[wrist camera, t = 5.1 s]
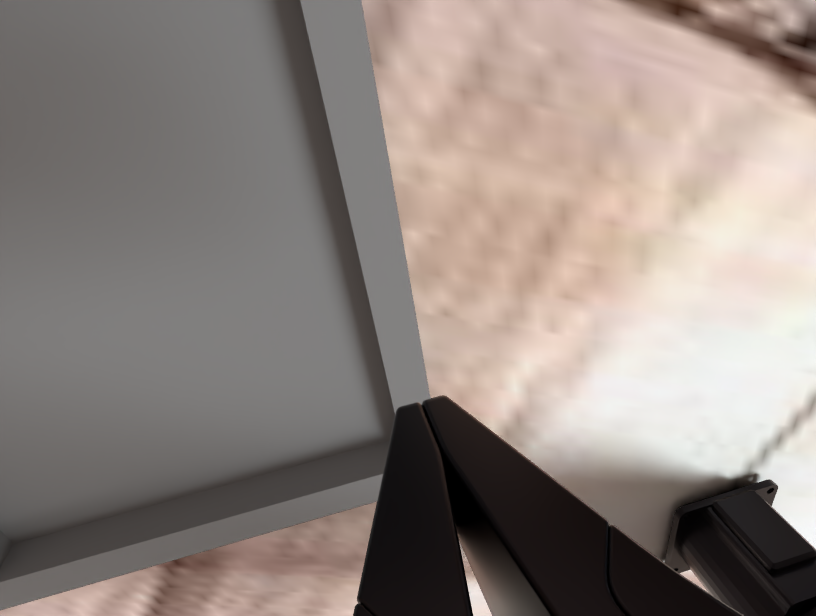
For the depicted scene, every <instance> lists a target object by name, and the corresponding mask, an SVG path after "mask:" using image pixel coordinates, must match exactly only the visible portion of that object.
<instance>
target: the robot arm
mask: <svg viewBox="0 0 816 616" xmlns="http://www.w3.org/2000/svg"><path fill="white" fill-rule="evenodd" d="M777 490H778V486H777V485H776V484H775V483H774V482H773V481H772V480H765V481H762V482H759V483H755V484H752V485H749V486H746V487H743V488H739V489H736V490H733V491H730V492H727V493H723V494H720V495H717V496H714V497H711V498H707V499H704V500H701V501H698V502H694V503H691V504H688V505H685V506H682V507H680V508H679V509H677V510H676V512H675V514H674V519H673V524H672V529H671V533H670V538H669V543H668V548H667V553H666V558H665V563H664V562H663V561H661V560H660V559H659V558H657V557H656V556H655V555H653V554H652V553H650V552H649V551H648V550H646V549H645V548H644V547H642V546H641V545H639V544H638V543H637V542H635V541H634V540H633V539H632V538H630V537H629V536H628V535H626V534H625V533H624V532H623V531H621V530H620V529H619V528H617V527H616V526H615V525H610V526H609V521H608V520H607V519H605V518H604V517H603V516H602V515H600V514H599V513H598V512H596V511H595V510H594V509H592V508H591V507H590V506H589V505H587V504H586V503H585V502H583V501H582V500H581V499H579V498H578V497H577V496H576V495H574V494H573V493H572V492H570V491H569V490H568V489H566V488H565V487H564V486H563V485H561V484H560V483H559V482H557V481H556V480H555V479H553V478H552V477H551V476H550V475H548V474H547V473H546V472H544V471H543V470H542V469H540V468H539V467H538V466H537V465H535V464H534V463H533V462H531V461H530V460H529V459H527V458H526V457H525V456H524V455H522V454H521V453H520V452H518V451H517V450H516V449H514V448H513V447H512V446H511V445H509V444H508V443H507V442H505V441H504V440H503V439H501V438H500V437H499V436H498V435H496V434H495V433H494V432H492V431H491V430H490V429H488V428H487V427H486V426H485V425H483V424H482V423H481V422H479V421H478V420H477V419H475V418H474V417H473V416H472V415H470V414H469V413H468V412H466V411H465V410H464V409H462V408H461V407H460V406H459V405H457V404H456V403H455V402H453V401H452V400H451V399H449V398H448V397H447V396H438V397H434V398H431V399H427V400H424V401H423V402H422V405H421V404H420V403H419V402H416V403H412V404H408V405H404V406H401V407H399V408H398V409H397V410H396V414H395V418H394V423H393V428H392V433H391V438H390V442H389V447H388V452H387V457H386V462H385V466H384V471H383V476H382V481H381V486H380V491H379V495H378V500H377V505H376V510H375V515H374V519H373V524H372V529H371V534H370V539H369V543H368V548H367V553H366V558H365V563H364V567H363V572H362V577H361V582H360V587H359V591H358V596H357V602H358V604H357V605H356V606H355V609H354V614H353V616H473V613H472V608H471V602H470V597H469V592H468V586H467V581H466V576H465V570H464V565H463V560H462V555H461V549H460V544H459V540H460V543H461V545H462V548H463V550H464V552H465V554H466V557H467V559H468V561H469V564H470V566H471V568H472V570H473V573H474V575H475V577H476V579H477V582H478V584H479V586H480V589H481V591H482V593H483V595H484V598H485V600H486V602H487V604H488V607H489V609H490V611H491V614H492V616H816V549H815V548H814V547H813V546H812V545H811V544H810V543H809V542H808V541H807V540H806V539H805V538H804V537H803V536H802V535H801V534H800V533H798V532H797V531H796V530H795V529H794V528H793V527H792V526H791V525H790V524H789V523H788V522H787V521H786V520H785V519H784V518H783V517H782V516H781V515H780V514H779V513H778V512H777V511H776V510H775V509H774V508H773V507H772V503H773V501H774V498H775V495H776V492H777ZM458 538H459V539H458ZM690 569H691V570H692V572H693V573H694V574H695V576H696V577H697V578H698V579H699V581H700V582H701V583H702V585H703V586H704V587H705V589H706V590H707V591H708V592H706V591H705V590H703V589H702V588H700V587H699V586H697V585H696V584H694V583H693V582H691V581H690V580H688V579H687V578H685V577H684V576H682V575H681V574H679V573H681V572H684V571H687V570H690Z"/></svg>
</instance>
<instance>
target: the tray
mask: <svg viewBox="0 0 816 616" xmlns="http://www.w3.org/2000/svg"><path fill="white" fill-rule="evenodd" d="M427 399H430V394H429V388H428V382H427V376H426V371H425V365H424V359H423V353H422V348H421V342H420V336H419V330H418V325H417V319H416V313H415V307H414V301H413V296H412V290H411V284H410V278H409V273H408V267H407V261H406V255H405V250H404V244H403V238H402V232H401V227H400V221H399V215H398V209H397V204H396V198H395V192H394V186H393V181H392V175H391V169H390V163H389V158H388V152H387V146H386V140H385V135H384V129H383V123H382V117H381V112H380V106H379V100H378V94H377V89H376V83H375V77H374V71H373V66H372V60H371V54H370V48H369V43H368V37H367V31H366V25H365V20H364V14H363V8H362V2H361V0H0V610H3V609H7V608H10V607H13V606H17V605H20V604H24V603H27V602H31V601H34V600H38V599H41V598H45V597H48V596H51V595H55V594H58V593H62V592H65V591H69V590H72V589H76V588H79V587H83V586H86V585H90V584H93V583H96V582H100V581H103V580H107V579H110V578H114V577H117V576H121V575H124V574H128V573H131V572H134V571H138V570H141V569H145V568H148V567H152V566H155V565H159V564H162V563H166V562H169V561H173V560H176V559H179V558H183V557H186V556H190V555H193V554H197V553H200V552H204V551H207V550H211V549H214V548H217V547H221V546H224V545H228V544H231V543H235V542H238V541H242V540H245V539H249V538H252V537H256V536H259V535H262V534H266V533H269V532H273V531H276V530H280V529H283V528H287V527H290V526H294V525H297V524H300V523H304V522H307V521H311V520H314V519H318V518H321V517H325V516H328V515H332V514H335V513H339V512H342V511H345V510H349V509H352V508H356V507H359V506H363V505H366V504H370V503H373V502H377V500H378V495H379V491H380V486H381V481H382V476H383V471H384V466H385V462H386V457H387V452H388V447H389V442H390V438H391V433H392V428H393V423H394V418H395V414H396V410H397V409H398V408H399V407H401V406H404V405H408V404H412V403H416V402H419V403H420V404H421V405H422V402H423V401H424V400H427Z"/></svg>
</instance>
